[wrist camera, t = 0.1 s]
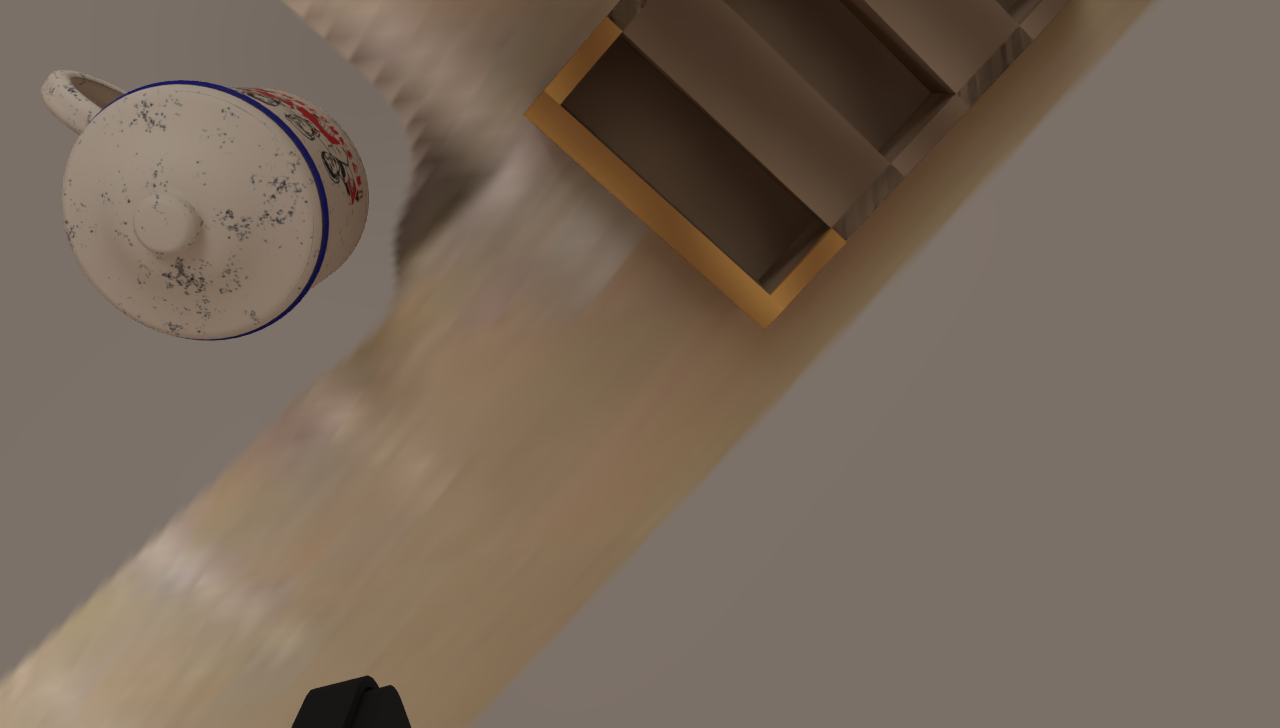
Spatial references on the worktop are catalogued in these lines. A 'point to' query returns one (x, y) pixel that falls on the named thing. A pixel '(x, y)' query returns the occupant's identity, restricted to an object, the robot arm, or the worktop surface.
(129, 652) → the worktop surface
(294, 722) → the robot arm
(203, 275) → the teacup with lid
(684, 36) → the rack
